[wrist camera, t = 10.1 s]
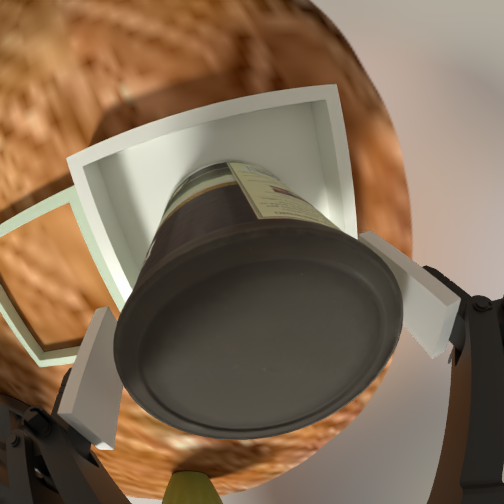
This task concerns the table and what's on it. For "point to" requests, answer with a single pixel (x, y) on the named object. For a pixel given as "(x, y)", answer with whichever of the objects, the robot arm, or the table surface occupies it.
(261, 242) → the coffee can
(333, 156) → the bin
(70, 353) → the frame
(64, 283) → the table surface
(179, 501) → the flower pot
